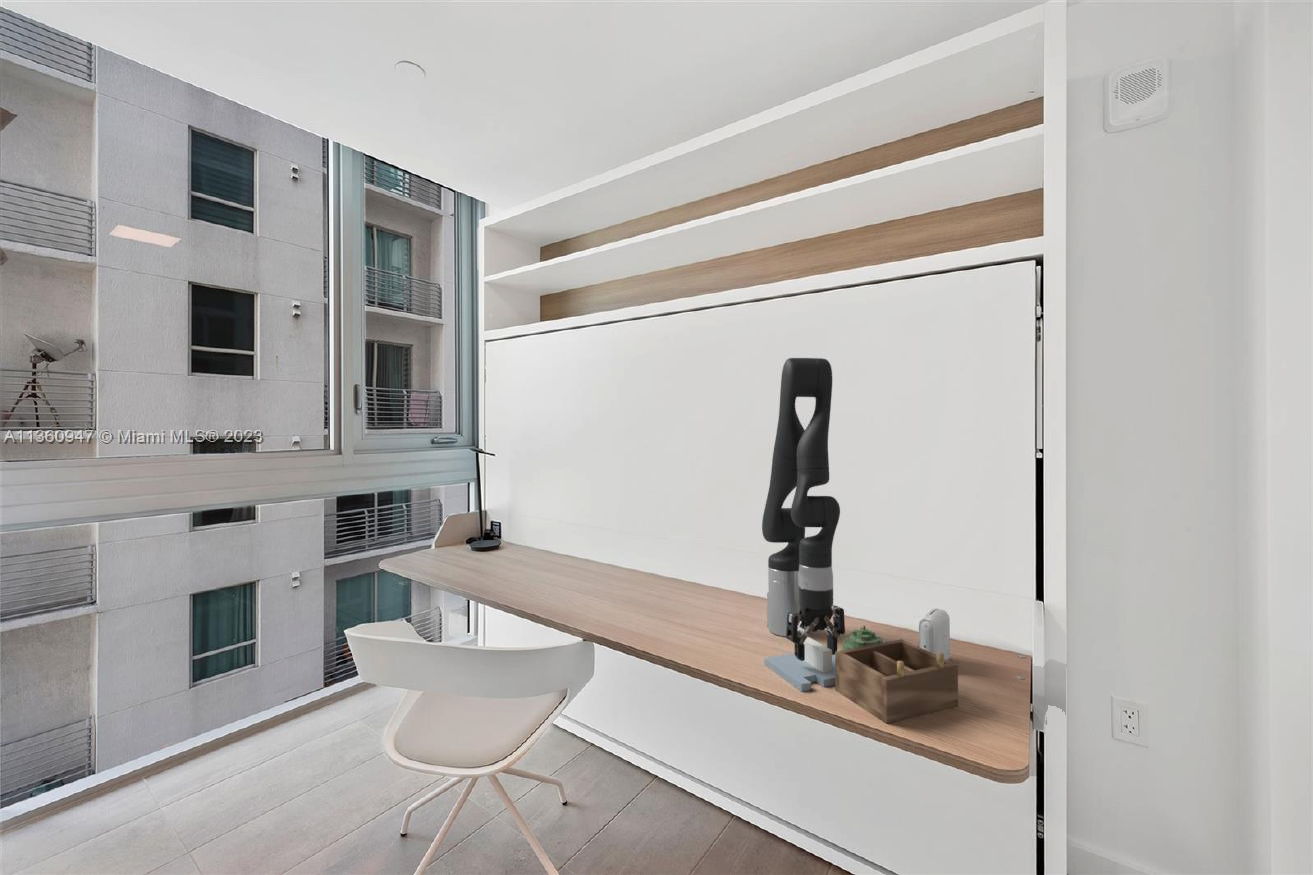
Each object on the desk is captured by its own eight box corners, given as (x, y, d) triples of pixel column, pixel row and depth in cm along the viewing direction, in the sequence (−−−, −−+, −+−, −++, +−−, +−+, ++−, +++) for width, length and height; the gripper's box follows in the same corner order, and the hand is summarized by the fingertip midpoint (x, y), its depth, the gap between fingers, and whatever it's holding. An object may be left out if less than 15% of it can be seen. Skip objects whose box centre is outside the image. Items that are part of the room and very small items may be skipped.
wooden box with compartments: (835, 690, 111) (835, 639, 111) (901, 675, 118) (901, 627, 118) (886, 723, 98) (886, 666, 98) (958, 705, 105) (957, 652, 104)
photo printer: (936, 673, 119) (936, 617, 119) (916, 667, 122) (916, 613, 122) (952, 659, 126) (952, 607, 126) (933, 654, 129) (932, 603, 129)
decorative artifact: (874, 645, 135) (836, 647, 134) (874, 618, 135) (835, 619, 134) (895, 662, 125) (853, 664, 124) (894, 632, 125) (853, 634, 124)
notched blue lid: (764, 664, 124) (764, 638, 124) (827, 652, 130) (827, 628, 130) (801, 691, 110) (801, 662, 110) (870, 677, 117) (869, 649, 117)
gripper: (830, 577, 126) (830, 645, 126) (779, 583, 121) (779, 655, 121) (852, 585, 119) (853, 658, 119) (799, 592, 114) (799, 668, 114)
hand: (816, 656), depth 120 cm, fingers open, 8 cm apart
